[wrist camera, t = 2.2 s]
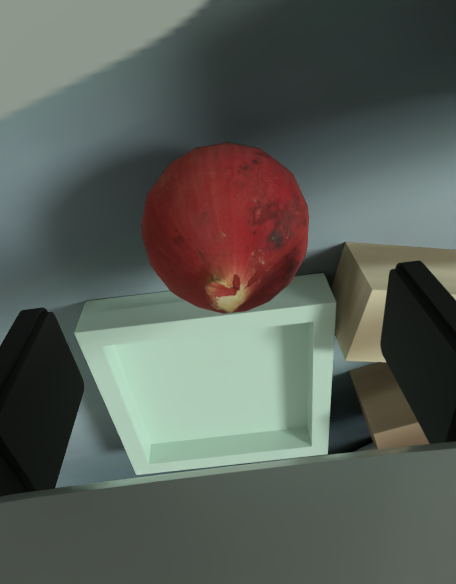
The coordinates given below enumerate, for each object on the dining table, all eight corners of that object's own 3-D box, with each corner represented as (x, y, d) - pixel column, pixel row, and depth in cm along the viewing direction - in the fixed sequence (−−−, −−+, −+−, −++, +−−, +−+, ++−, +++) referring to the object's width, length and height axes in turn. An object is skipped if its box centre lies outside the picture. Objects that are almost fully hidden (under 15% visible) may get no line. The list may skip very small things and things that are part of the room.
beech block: (344, 240, 20) (372, 289, 17) (462, 248, 21) (510, 297, 17) (324, 306, 22) (345, 360, 19) (430, 312, 23) (468, 365, 20)
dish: (85, 301, 21) (74, 332, 19) (323, 272, 21) (336, 302, 19) (141, 441, 28) (136, 475, 26) (318, 421, 28) (327, 454, 26)
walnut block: (348, 369, 25) (373, 434, 22) (424, 347, 24) (463, 410, 21) (362, 412, 28) (386, 477, 24) (431, 394, 27) (466, 457, 23)
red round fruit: (251, 87, 16) (286, 158, 9) (310, 209, 19) (367, 327, 12) (125, 165, 17) (79, 273, 11) (199, 266, 20) (198, 398, 14)
